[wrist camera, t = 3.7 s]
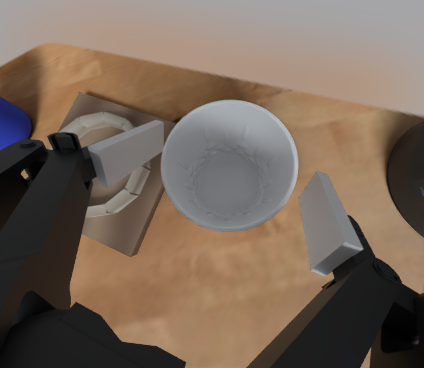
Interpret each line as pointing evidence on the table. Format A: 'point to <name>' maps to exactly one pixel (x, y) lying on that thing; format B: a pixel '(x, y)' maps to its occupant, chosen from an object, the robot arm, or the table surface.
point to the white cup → (229, 165)
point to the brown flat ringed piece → (123, 189)
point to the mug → (12, 124)
